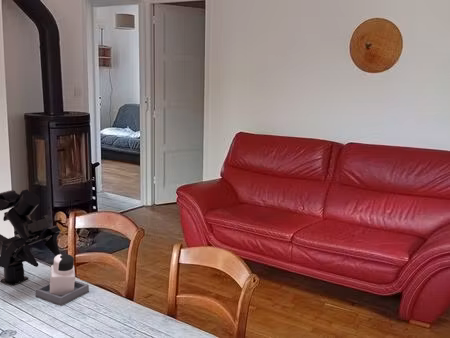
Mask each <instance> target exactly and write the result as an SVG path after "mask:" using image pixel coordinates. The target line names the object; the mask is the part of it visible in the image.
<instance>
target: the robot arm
mask: <svg viewBox="0 0 450 338" xmlns="http://www.w3.org/2000/svg"><path fill="white" fill-rule="evenodd" d="M40 203H41V197H40V196H39V195H38V194H36V193H35V192H33V191H29V189H27V188H26V189H22V190H21V192H20V193H17V192H16V190H14V189H11V190H8V191H7V190H6V191H3V192H0V211H5V210H8V211H6V212H3V214H4V215H3V219H2V220H3V222H6V221H8V222H10V224H11V226H12V227H13V229H14V232H13V233H14V235H15V236H12V237H8V238H7V237H6V236H4V235H2V234H1V233H0V268H3V274H4V278H2V279H0V282H1V283H4V284H7V285H10V286H14V285H17V284H20V283H22V282H24V281H26V280H28V279H29V277H28V276H25V269H24V262H26V263H28V264H29V265H31V266H34V267H35V268H38V266H39V263H38V261H37V259H36V257H35V256H34V255H33V253H32V252H31V248H30V245H33V244H36V243H39V242H41V241H42V242H43V243H44V246H45V247H46V248H47V249H48V250H49V251H50V252H51V253H52V254H53V255H54V257H56V256H57V255H59V254H61V253H60V249H59V246H58V237H59V235H60V233H61V232H62V230H61V229H60V227H59V226H57V225H53V226H50V225H51V224H53V221H52V217H50V216H49V214H46V215H43V216H41V217H40V219H39V220H36V219H35V218H32V219H31V218H30V215H32V213H33V212H34V211H35V210H36V208H37V207H38V206H39V205H40ZM44 229H45V230H44ZM17 235H19V236H17Z"/></svg>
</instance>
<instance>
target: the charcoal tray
mask: <svg viewBox="0 0 450 338" xmlns="http://www.w3.org/2000/svg"><path fill="white" fill-rule="evenodd" d="M89 287H90V285H89V284H88V283H87V284H86V283H83V282H80V281H77V280H75V283H74V291H72V292H70V293H68V294H66V295H64V296H57V295H54V294H51V293H50V282H49V283H47V284H45V285H42V286H40V287H38V288H36V289H35V292H34V293H35V297H36V298H38V299H41V300H43V301H46V302H49V303H50V304H51V303H52V304H54V305H58V306H60V307H62V306H64V305H65V304H68V303H70V302H73V300H76V299H78V298H80V297H82V296H84V295H85V294H88V293H89V292H90V288H89Z"/></svg>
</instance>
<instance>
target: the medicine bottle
mask: <svg viewBox="0 0 450 338" xmlns="http://www.w3.org/2000/svg"><path fill="white" fill-rule="evenodd" d="M74 261H75V258H74V257H73V256H72V255H71V254H68V253H60V254H59V255H57V256H54V258H53V264H52V265H51V266H50V276H49V277H50V278H49V283H50V293H51V294H54V295H57V296H64V295H66V294H68V293H70V292H72V291H74V283H75V281H76V273H75V270H76V269H75V265H74V264H75V262H74Z"/></svg>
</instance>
